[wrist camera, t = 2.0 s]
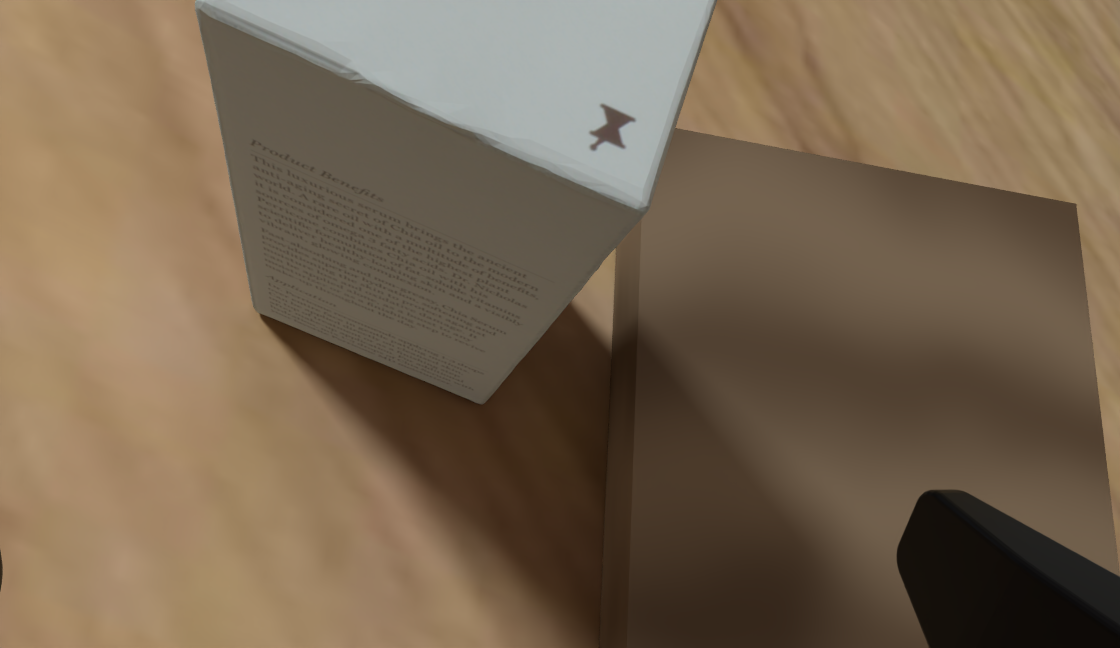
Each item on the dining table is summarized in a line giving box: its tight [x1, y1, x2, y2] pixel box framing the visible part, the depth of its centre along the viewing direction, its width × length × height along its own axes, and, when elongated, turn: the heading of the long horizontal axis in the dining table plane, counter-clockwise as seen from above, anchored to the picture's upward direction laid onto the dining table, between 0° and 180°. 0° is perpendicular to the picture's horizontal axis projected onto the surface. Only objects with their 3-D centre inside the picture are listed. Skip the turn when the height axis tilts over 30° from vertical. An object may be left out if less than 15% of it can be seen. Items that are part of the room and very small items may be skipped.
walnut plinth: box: [599, 128, 1120, 648], centre depth 24 cm, size 13×13×2 cm
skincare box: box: [195, 0, 717, 404], centre depth 17 cm, size 6×4×12 cm
